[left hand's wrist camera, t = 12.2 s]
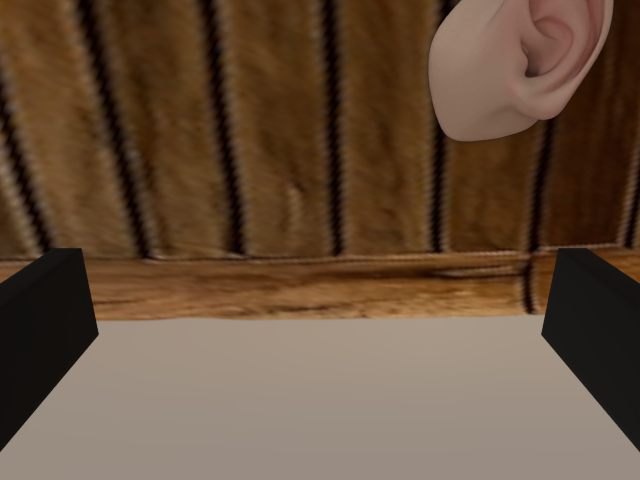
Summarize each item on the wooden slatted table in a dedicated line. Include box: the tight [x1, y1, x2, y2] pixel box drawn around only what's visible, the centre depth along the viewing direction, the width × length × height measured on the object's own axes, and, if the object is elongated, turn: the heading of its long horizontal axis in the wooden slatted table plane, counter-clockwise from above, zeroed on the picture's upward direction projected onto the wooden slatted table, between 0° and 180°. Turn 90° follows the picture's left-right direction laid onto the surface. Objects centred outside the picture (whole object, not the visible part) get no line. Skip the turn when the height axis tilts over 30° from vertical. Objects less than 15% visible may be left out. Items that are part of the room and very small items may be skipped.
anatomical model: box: [428, 0, 613, 141], centre depth 32 cm, size 13×4×12 cm
